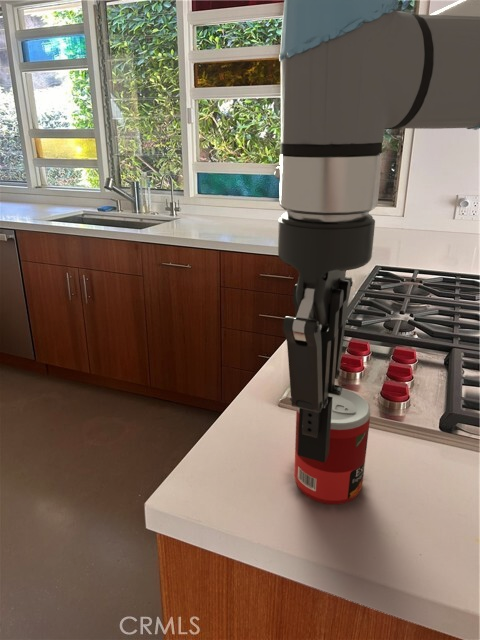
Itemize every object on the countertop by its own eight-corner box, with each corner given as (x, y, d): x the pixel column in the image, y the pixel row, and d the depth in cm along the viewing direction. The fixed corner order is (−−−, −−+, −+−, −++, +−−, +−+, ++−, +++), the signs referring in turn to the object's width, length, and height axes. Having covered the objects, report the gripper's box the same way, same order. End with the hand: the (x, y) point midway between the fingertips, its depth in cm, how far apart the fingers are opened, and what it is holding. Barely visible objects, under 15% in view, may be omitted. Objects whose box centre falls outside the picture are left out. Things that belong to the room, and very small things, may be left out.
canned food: (364, 511, 51) (374, 427, 47) (291, 502, 52) (294, 420, 48) (359, 464, 58) (368, 388, 54) (295, 458, 59) (298, 383, 55)
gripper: (305, 198, 43) (297, 411, 52) (249, 224, 32) (251, 486, 42) (388, 202, 40) (364, 427, 49) (356, 232, 30) (333, 513, 39)
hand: (313, 454), depth 46 cm, fingers closed
